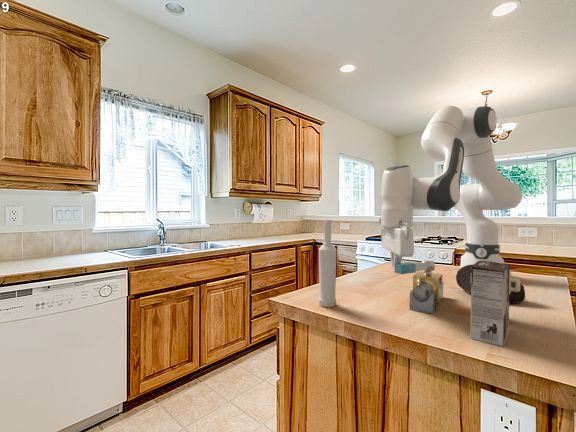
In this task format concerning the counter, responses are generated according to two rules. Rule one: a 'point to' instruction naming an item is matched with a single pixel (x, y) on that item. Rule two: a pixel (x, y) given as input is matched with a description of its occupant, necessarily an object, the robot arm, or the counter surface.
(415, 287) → the valve pipe
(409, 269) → the lever
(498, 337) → the coffee box
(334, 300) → the bottle
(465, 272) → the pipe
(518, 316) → the counter surface
